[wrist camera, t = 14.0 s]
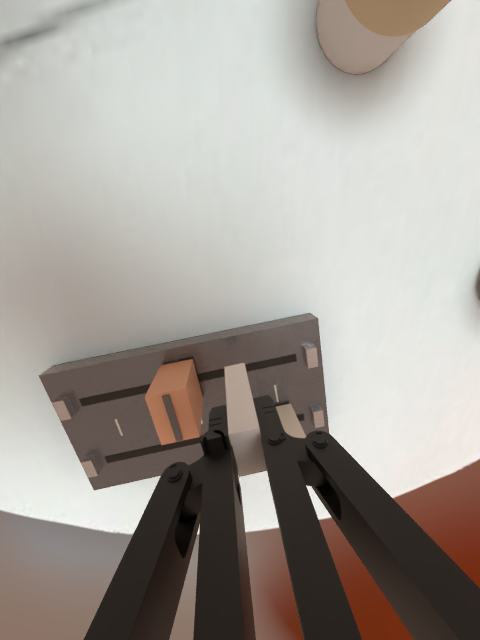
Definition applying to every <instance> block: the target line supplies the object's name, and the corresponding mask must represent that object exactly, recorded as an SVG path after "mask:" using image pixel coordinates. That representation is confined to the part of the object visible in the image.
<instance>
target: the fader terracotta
mask: <svg viewBox="0 0 480 640" xmlns="http://www.w3.org/2000/svg"><path fill="white" fill-rule="evenodd" d="M145 400H146V403H147V405H148V408H149V411H150V414H151V417H152V420H153V423H154V425H155V428H156V431H157V434H158V437H159V440H160V443H161V445H165V444H169V443H174V442H179V441H183V440H188V439H192V438H197V437H200V428H201V418H202V409H203V395H202V392H201V388H200V384H199V381H198V377H197V373H196V369H195V366H194V362H193V359H189V360H184V361H180V362H175V363H170V364H165V365H161V366H160V368H159V370H158V371H157V373H156V375H155V377H154V379H153V381H152V383H151V385H150V387H149V389H148V391H147V393H146V395H145Z"/></svg>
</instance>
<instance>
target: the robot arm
mask: <svg viewBox="0 0 480 640" xmlns="http://www.w3.org/2000/svg"><path fill="white" fill-rule="evenodd" d="M224 370H225V386H226V403H227V404H226V405H222V406H217V407H213V408H212V409H211V411H210V413H209V424H208V426H209V427H208V431H207V432H206V433H204V435H203V436H202V437H201V440H200V443H201V446H202V450H203V453H204V455H203V456H202V457H201V458H200V459H199V460H197V461H196V462H194V463H192V464H190V465H187V464H186V463H185V462H181V461H180V462H175V463H173V464H171V465H170V466H168V467H167V468H166V469H165V470H164V472H163V473H162V475H161V477H160V479H159V481H158V484H157V486H156V488H155V490H154V492H153V494H152V496H151V498H150V500H149V503H148V505H147V507H146V509H145V511H144V513H143V515H142V517H141V520H140V522H139V524H138V526H137V528H136V530H135V532H134V534H133V536H132V539H131V541H130V543H129V545H128V547H127V549H126V551H125V553H124V555H123V558H122V560H121V562H120V564H119V566H118V568H117V570H116V573H115V575H114V577H113V579H112V581H111V583H110V585H109V587H108V589H107V591H106V594H105V596H104V598H103V600H102V602H101V604H100V606H99V608H98V610H97V613H96V615H95V617H94V619H93V621H92V623H91V625H90V628H89V629H88V632H87V634H86V636H85V638H84V640H169V638H170V634H171V630H172V627H173V623H174V619H175V615H176V611H177V607H178V604H179V600H180V596H181V592H182V589H183V585H184V581H185V577H186V574H187V570H188V566H189V562H190V558H191V555H192V551H193V547H194V543H195V539H196V536H197V532H198V528H199V524H200V534H199V553H198V570H197V587H196V604H195V621H194V639H193V640H256V636H255V628H254V627H255V626H254V617H253V606H252V597H251V586H250V577H249V568H248V556H247V546H246V536H245V526H244V516H243V506H242V496H241V487H240V483H239V478H238V475H239V477H240V476H245V475H249V474H254V473H258V472H263V471H267V472H268V477H269V482H270V487H271V492H272V495H273V500H274V504H275V509H276V514H277V518H278V523H279V527H280V532H281V536H282V541H283V546H284V550H285V555H286V560H287V564H288V569H289V573H290V578H291V582H292V587H293V592H294V596H295V601H296V606H297V610H298V615H299V619H300V624H301V629H302V633H303V638H304V640H362V639H361V636H360V633H359V630H358V627H357V625H356V622H355V619H354V616H353V614H352V611H351V608H350V606H349V603H348V600H347V597H346V594H345V592H344V589H343V586H342V583H341V581H340V578H339V575H338V572H337V570H336V567H335V564H334V562H333V559H332V556H331V553H330V550H329V548H328V545H327V542H326V539H325V537H324V534H323V531H322V528H321V526H320V523H319V520H318V517H317V515H316V512H315V509H314V506H313V504H312V501H311V498H310V495H309V493H308V490H307V487H306V485H307V486H312V488H313V490H314V491H315V493H316V494H317V496H318V497H319V499H320V500H321V502H322V503H323V505H324V506H325V508H326V509H327V511H328V512H329V514H330V515H331V517H332V518H333V519H334V521H335V522H336V524H337V525H338V527H339V528H340V530H341V531H342V533H343V534H344V536H345V537H346V539H347V540H348V542H349V543H350V545H351V546H352V548H353V549H354V551H355V552H356V554H357V555H358V557H359V558H360V560H361V561H362V563H363V564H364V566H365V567H366V569H367V570H368V572H369V573H370V575H371V576H372V578H373V579H374V581H375V582H376V584H377V585H378V586H379V588H380V590H381V591H382V593H383V594H384V595H385V597H386V598H387V600H388V601H389V603H390V604H391V606H392V607H393V609H394V610H395V612H396V613H397V615H398V616H399V618H400V619H401V621H402V622H403V624H404V625H405V627H406V628H407V630H408V631H409V633H410V634H411V636H412V637H413V639H414V640H480V588H479V587H478V586H477V585H476V584H475V583H474V582H473V581H472V580H471V579H470V578H469V577H468V576H467V575H466V574H465V573H464V572H463V571H462V570H461V569H460V568H459V566H457V564H455V562H454V561H453V560H452V559H451V558H450V557H449V556H448V555H447V554H446V553H445V552H444V551H443V550H442V549H441V548H440V547H439V546H438V545H437V544H436V543H435V542H434V541H433V540H432V539H431V538H430V537H429V536H428V535H427V534H426V533H425V532H424V531H423V529H422V528H421V527H420V526H419V525H418V524H417V523H416V522H415V521H414V520H413V519H412V518H411V517H410V516H409V515H408V514H407V513H406V512H405V511H404V510H403V509H402V508H401V507H400V506H399V505H398V504H397V503H396V502H395V501H394V500H393V498H392V497H391V496H390V495H389V494H388V493H387V492H386V491H385V490H384V489H383V488H382V487H381V486H380V485H379V484H378V483H377V482H376V481H375V480H374V479H373V478H372V477H371V476H370V475H369V474H368V473H367V472H366V471H365V470H364V469H363V468H362V467H361V466H360V464H359V463H358V462H357V461H356V460H355V459H354V458H353V457H352V456H351V455H350V454H349V453H348V452H347V451H346V450H345V449H344V448H343V447H342V446H341V445H340V444H339V443H338V442H337V441H336V440H335V439H334V438H333V437H332V436H331V435H330V434H329V433H327V432H324V431H318V430H316V431H312V432H310V433H309V434H307V436H306V438H296V437H293V436H290V435H289V434H287V433H286V432H285V430H284V429H283V426H282V423H281V420H280V417H279V415H278V412H277V409H276V406H275V403H274V401H273V399H272V398H271V397H270V396H269V395H265V396H261V397H256V398H252V393H251V389H250V385H249V380H248V376H247V372H246V367H245V363H240V364H236V365H231V366H226V367H224Z"/></svg>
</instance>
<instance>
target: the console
mask: <svg viewBox="0 0 480 640" xmlns="http://www.w3.org/2000/svg"><path fill="white" fill-rule="evenodd" d="M189 359H193V362H194V366H195V369H196V373H197V377H198V381H199V384H200V388H201V392H202V395H203V409H202V418H201V428H200V437H197V438H192V439H188V440H183V441H179V442H174V443H169V444H165V445H161V443H160V440H159V437H158V434H157V431H156V428H155V425H154V423H153V420H152V417H151V414H150V411H149V408H148V405H147V403H146V400H145V395H146V393H147V391H148V389H149V387H150V385H151V383H152V381H153V379H154V377H155V375H156V373H157V371H158V370H159V368H160V366H161V365H165V364H170V363H175V362H180V361H184V360H189ZM240 363H245V367H246V372H247V376H248V380H249V385H250V389H251V393H252V398H256V397H261V396H265V395H269V396H270V397H271V398H272V399H273V401H274V403H275V406H276V407H277V406H281V405H286V404H291V405H292V407H293V410H294V412H295V414H296V416H297V418H298V420H299V422H300V424H301V427H302V429H303V431H304V433H305V435H306V436H307V434H309V433H310V432H312V431H316V430H318V431H324V432H327V433H329V427H328V417H327V407H326V396H325V386H324V376H323V366H322V355H321V345H320V335H319V325H318V318H317V317H315V316H314V315H312V314H311V313H308V314H303V315H298V316H293V317H288V318H284V319H279V320H274V321H269V322H264V323H259V324H254V325H249V326H245V327H240V328H235V329H230V330H225V331H220V332H215V333H210V334H206V335H201V336H196V337H191V338H186V339H181V340H176V341H171V342H167V343H162V344H157V345H152V346H147V347H142V348H137V349H132V350H128V351H123V352H118V353H113V354H108V355H103V356H98V357H93V358H89V359H84V360H79V361H74V362H69V363H64V364H59V365H54V366H52V367H51V368H49V369H48V370H47V371H45V372H44V373H42V374H41V375H39V377H40V379H41V381H42V383H43V385H44V387H45V390H46V392H47V394H48V396H49V398H50V400H51V402H52V404H53V406H54V408H55V410H56V412H57V414H58V417H59V419H60V421H61V423H62V425H63V427H64V429H65V431H66V433H67V435H68V437H69V439H70V441H71V444H72V446H73V448H74V450H75V452H76V454H77V456H78V458H79V460H80V462H81V464H82V466H83V468H84V470H85V473H86V475H87V477H88V479H89V481H90V483H91V485H92V487H93V489H94V490H98V489H102V488H107V487H111V486H116V485H120V484H125V483H129V482H134V481H138V480H143V479H147V478H152V477H157V476H161V475H162V473H163V472H164V470H165V469H166V468H167V467H168V466H170V465H171V464H173V463H175V462H180V461H181V462H185V463H186V464H187V465H190V464H192V463H194V462H196V461H197V460H199V459H200V458H201V457H202V456H203V455H204V453H203V450H202V446H201V443H200V440H201V437H202V436H203V435H204V433H206V432H207V431H208V427H209V426H208V424H209V413H210V411H211V409H212V408H213V407H217V406H222V405H226V404H227V403H226V386H225V370H224V367H226V366H231V365H236V364H240Z"/></svg>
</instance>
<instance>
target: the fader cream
mask: <svg viewBox="0 0 480 640" xmlns="http://www.w3.org/2000/svg"><path fill="white" fill-rule="evenodd" d="M276 409H277V412H278V415H279V417H280V420H281V423H282V426H283V429H284V430H285V432H286V433H287V434H289V435H290V436H293V437H296V438H306V435H305V433H304V431H303V429H302V427H301V424H300V422H299V420H298V418H297V416H296V414H295V412H294V410H293V407H292V405H291V404H286V405H281V406H277V407H276Z"/></svg>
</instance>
